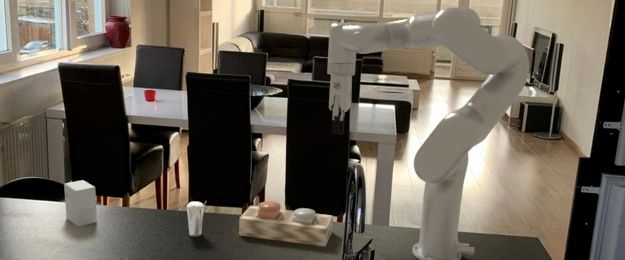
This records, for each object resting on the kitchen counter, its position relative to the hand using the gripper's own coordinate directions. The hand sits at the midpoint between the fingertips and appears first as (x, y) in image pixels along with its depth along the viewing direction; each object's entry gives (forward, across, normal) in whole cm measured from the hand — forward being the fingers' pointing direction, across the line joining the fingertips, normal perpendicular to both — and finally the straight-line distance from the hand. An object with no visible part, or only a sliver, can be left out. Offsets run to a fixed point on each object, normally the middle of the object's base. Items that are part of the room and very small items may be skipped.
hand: (337, 133), depth 172 cm
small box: (+27, -20, +68) cm, 76 cm away
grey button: (+26, -11, +6) cm, 29 cm away
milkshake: (+27, -19, +34) cm, 48 cm away
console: (+27, -11, +11) cm, 31 cm away
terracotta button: (+25, -11, +16) cm, 32 cm away
